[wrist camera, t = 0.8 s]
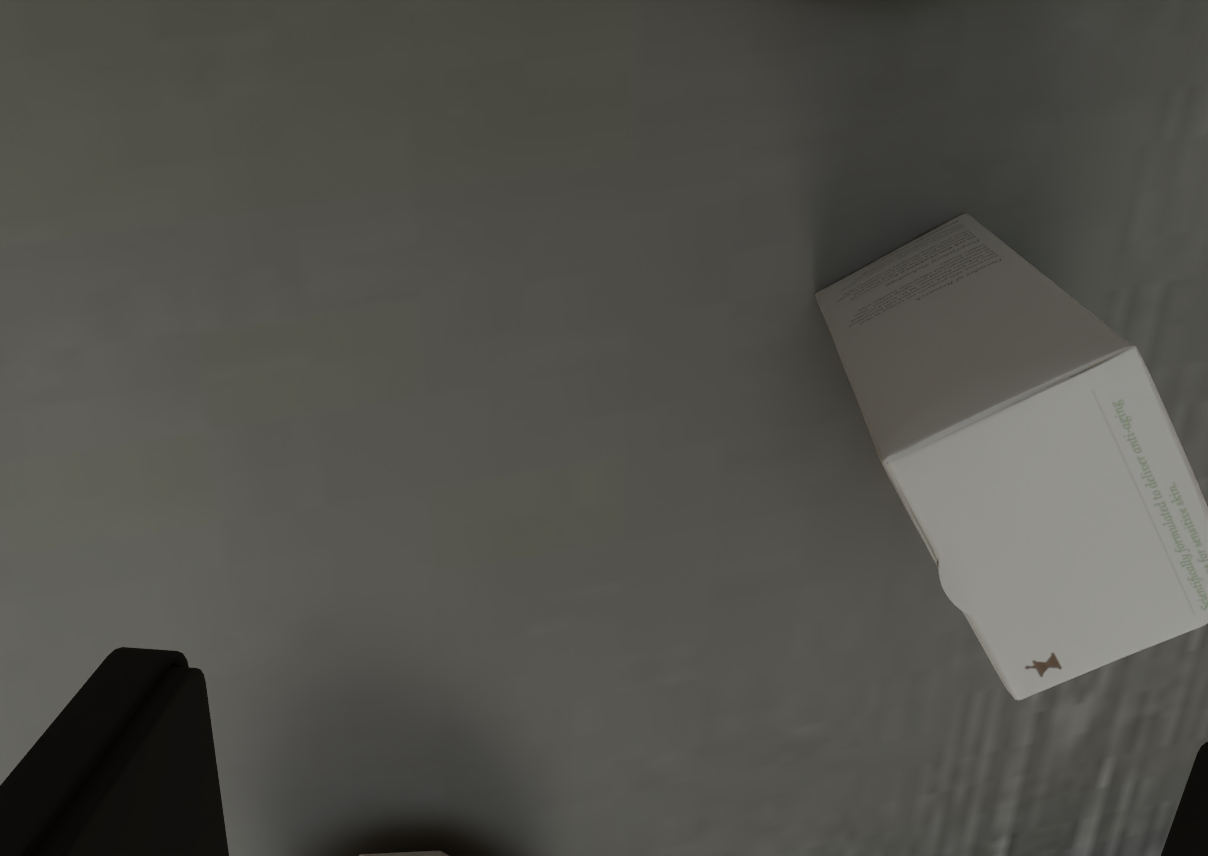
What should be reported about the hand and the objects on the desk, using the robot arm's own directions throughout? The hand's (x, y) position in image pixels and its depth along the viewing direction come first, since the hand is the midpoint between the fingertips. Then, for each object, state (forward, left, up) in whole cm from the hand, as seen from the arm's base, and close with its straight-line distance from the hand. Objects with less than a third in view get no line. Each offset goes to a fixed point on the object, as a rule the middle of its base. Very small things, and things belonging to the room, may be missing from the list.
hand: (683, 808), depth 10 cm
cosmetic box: (+11, +1, -30) cm, 32 cm away
